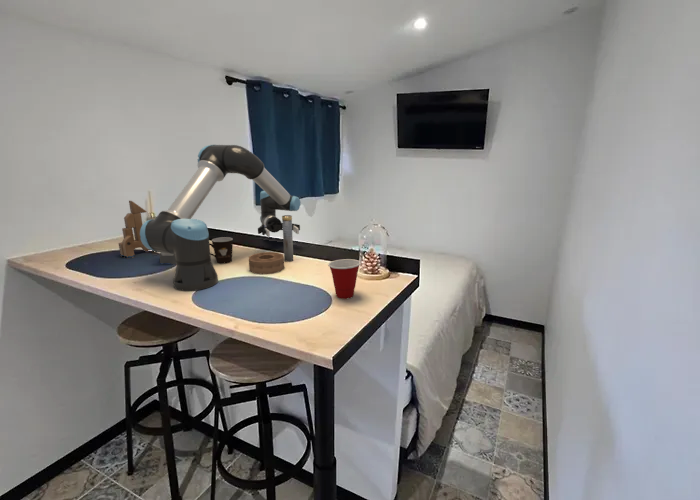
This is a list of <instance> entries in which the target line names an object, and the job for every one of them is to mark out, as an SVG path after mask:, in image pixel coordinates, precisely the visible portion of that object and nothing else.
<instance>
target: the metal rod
mask: <svg viewBox="0 0 700 500" xmlns="http://www.w3.org/2000/svg"><path fill="white" fill-rule="evenodd" d="M281 219H282V220H281V222H282V223H283V228H282V229H283V230H282V237H283V238H282V241H283V256H284V262H287V263H288V262H293V261H294V243H293V241H294V240H293V230H292V224H293V223H292V222H293V215H289V214H287V215H282V216H281Z"/></svg>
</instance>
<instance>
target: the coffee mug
mask: <svg viewBox="0 0 700 500" xmlns="http://www.w3.org/2000/svg"><path fill="white" fill-rule="evenodd" d="M211 242H212V243H210V242H209V245H210V246H211V247H212V249H213V252H214V254H213V253H211V252H210V256H213V257H214V258H215V262H216V263H217V264H220V265H224V264H229V263H232V262H233V244H234V239H233V237H229V236H226V237H225V236H224V237H223V236H221V237H216V238H212V239H211Z"/></svg>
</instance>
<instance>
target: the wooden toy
mask: <svg viewBox="0 0 700 500" xmlns="http://www.w3.org/2000/svg"><path fill="white" fill-rule="evenodd" d="M128 203H129V204H128V205H129V210H130V212H128V213H126V215H125V216H124V218H123V219H124V227H123V228H122V229H121V230H122V234H123V235H122V236H123V239H122V242H118V248H119V249H118V250H119V253H120V254H121V255H124V256H127V257H128V256H133V255H135V251H134V250H136V249H137V248H139V249H142V251H143V250H145V251H148V250H149V249H147V248H146V247H145V246H144V245H143V244H142V242H141V236H140V229H141V227H142V225H143V224H144V223H143V219H142V214H144V213H147V212H148V211H147V210H146V209H144V208H143V207H141V206H140V205H139V204H137V203H135V202H134V201H133V200H128ZM151 252H153V250H152V251H151ZM120 254H119V255H120ZM121 255H120V256H121Z"/></svg>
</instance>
